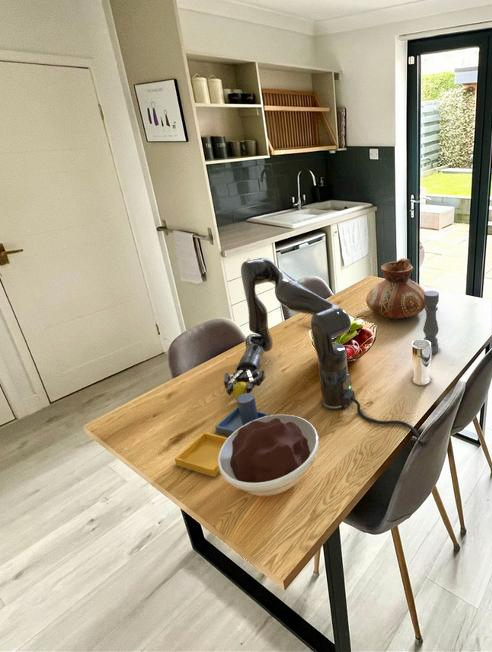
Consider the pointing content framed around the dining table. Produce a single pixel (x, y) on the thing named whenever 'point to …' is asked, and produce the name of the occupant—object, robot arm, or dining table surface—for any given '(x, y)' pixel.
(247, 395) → the blue cylinder
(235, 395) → the lemon
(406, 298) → the painted clay pot
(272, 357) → the dining table surface
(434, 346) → the grey pepper mill
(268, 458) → the white serving bowl
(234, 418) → the blue tray
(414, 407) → the dining table surface
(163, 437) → the dining table surface
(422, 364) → the silver metal cylinder
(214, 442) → the yellow tray
